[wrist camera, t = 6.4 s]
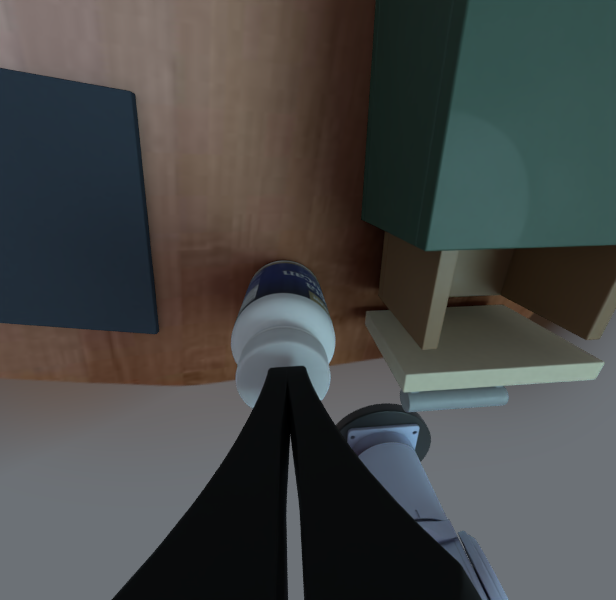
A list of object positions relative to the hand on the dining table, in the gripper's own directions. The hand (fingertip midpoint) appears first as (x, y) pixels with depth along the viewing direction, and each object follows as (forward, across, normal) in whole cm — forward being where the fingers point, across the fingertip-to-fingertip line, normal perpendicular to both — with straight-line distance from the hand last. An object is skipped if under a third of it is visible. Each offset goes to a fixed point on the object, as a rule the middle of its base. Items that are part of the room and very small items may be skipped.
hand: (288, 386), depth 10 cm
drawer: (+9, -11, -1) cm, 15 cm away
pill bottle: (+11, 0, +1) cm, 11 cm away
